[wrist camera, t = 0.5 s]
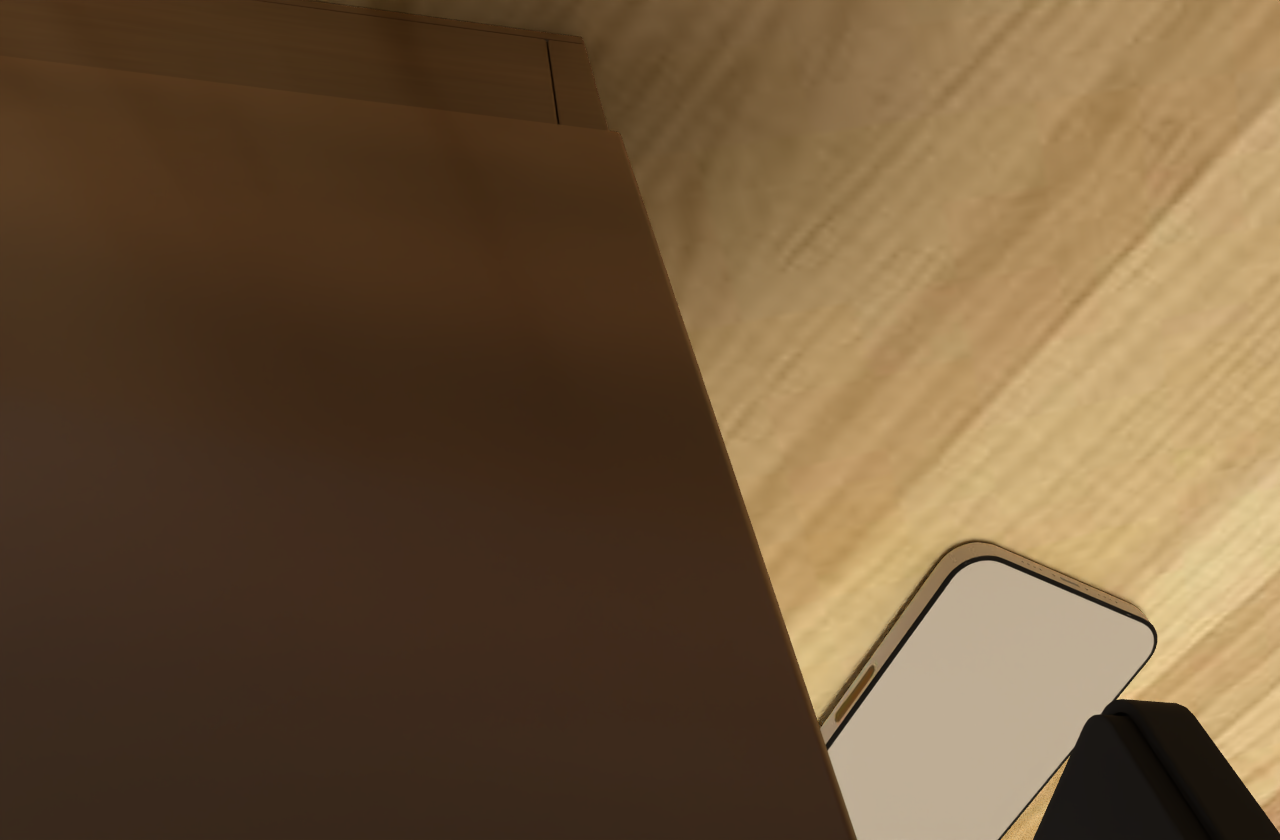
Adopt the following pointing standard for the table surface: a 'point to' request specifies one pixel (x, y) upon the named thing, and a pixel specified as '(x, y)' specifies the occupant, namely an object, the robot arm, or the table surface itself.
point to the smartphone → (978, 696)
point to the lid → (365, 487)
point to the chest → (318, 53)
